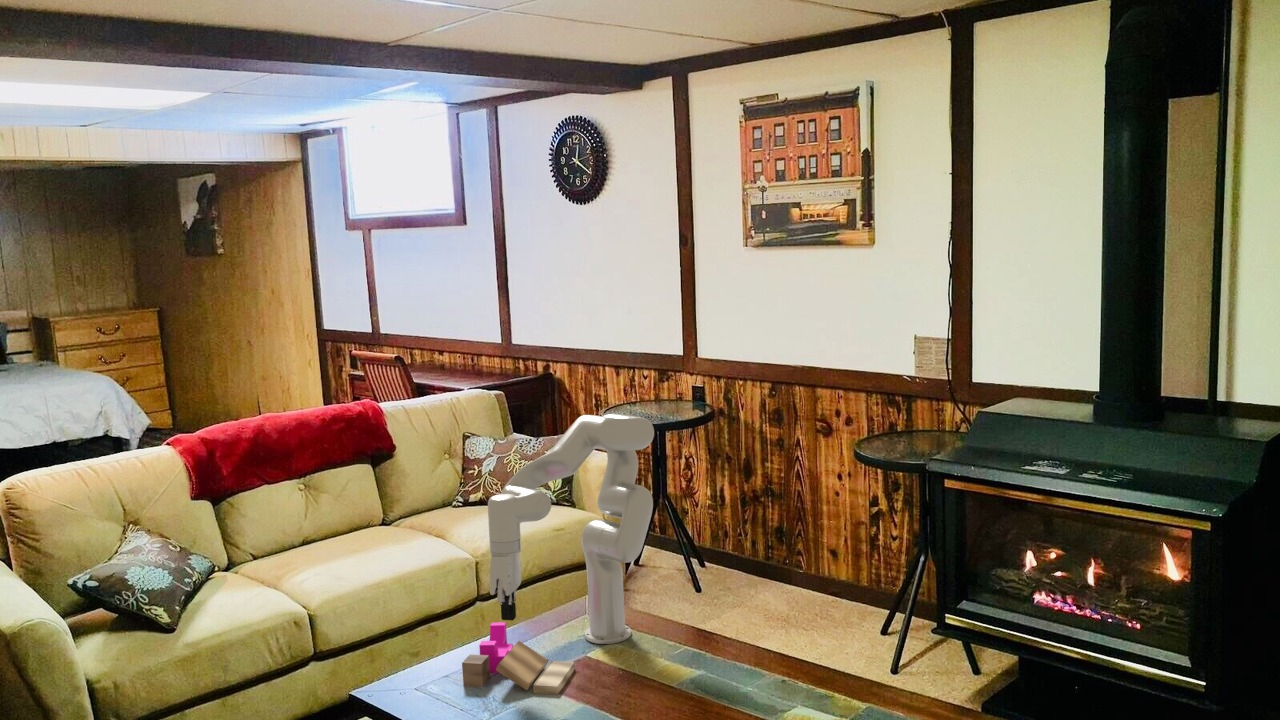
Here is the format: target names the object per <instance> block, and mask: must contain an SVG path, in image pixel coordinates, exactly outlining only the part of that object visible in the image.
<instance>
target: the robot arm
mask: <svg viewBox="0 0 1280 720" xmlns="http://www.w3.org/2000/svg"><path fill="white" fill-rule="evenodd" d="M654 437H655V429H654V426H653V423H652V422H651V421H650V420H649V419H647V418H646V417H644V416H643V417H642V416H633V415H627V414H619V413H609V414H604V415H602V416H601V415H595V414H594V415H593V414H584V415H581V416H579V417H577V419H576V420H575V421H574V422H573V423H572V424H571V425H570V426H569V427H568V428H567V430H566V431H565V432H564V434H563V435H562V436H561V437H560V438H559V439H558V441H557V442H556V443H555V445H553V447H552V448H551V449H550V450H549V451H548V452H547V453H545V454H543V455H541V456H539V457H537V458H536V459H534V460H533V461H531V462H529V463H527V464H526V465H524V466H522V467H521V468H519V470H518V471H517V472H515V473H514V474H513V476H512V477H511V478H510V479H509V480H508V481H507V482H506V484H505V485H504V487H503V488H502V490H501V492H500V494H495V495H492V496H491V497H489V499H488V501H487V514H488V515H487V517H488V519H487V520H488V532H489V533H488V537H489V554H491V556H490V566H489V593H490V595H491V596H495V595H496V594H497V596H496V597H497V600H496V602H497V603H499V605H500V617H501V620H502V621H514V620H515V619H516V618H517V611H516V610H517V607H516V600H517V590H518V588H519V586H521V584H522V565H521V555H520V553H521V552H522V541H521V537H522V536H521V534H522V533H521V524H522V523H529V522H538V521H541V520H543V519H545V518H546V517H547V516H548V515H549V514H550V512H551V509H552V501H551V498H550V497H549V496H548V495H547V493H545V492H543V491H541V490H537V489H538V488H539V487H541V486H542V485H545V484H547V483H550V482H553V481H557V480H562V479H565V478H569V477H571V476H573V475H575V473H576V472H577V471H578V470H579V469H580V467H581V466H582V465H583V464H584V462H585V461H586V460H587V459H588V457H589V456H590V455H591V454H592V452H593V451H594V450H597V449H598V450H604V451H606V456H607V463H606V467H605V472H604V476H603V479H602V482H601V485H600V489H599V493H598V497H597V502H596V503H597V509H598V510H599V511H600V512H601V513H602V514H604V515H606V516H609V517H612V518H616V519H617V518H618V519H620V523H619V522H616V521H615V522H614V521H611V520H610V521H609V520H605V519H593V520H591V521H589V522H588V523H587V524H586V525H584V527H583V529H582V532H581V548H582V552H583V554H584V560H585V566H586V577H587V581H586V582H587V583H586V584H587V598H588V599H587V600H588V601H587V602H588V618H589V620H588V621H589V627H588V628H586V629H585V630H584V631H583V633H584V635H583V636H584V639H585V640H587V642H590V643H593V644H597V645H598V644H599V645H611V644H617V643H621V642H623V641H626V640H628V639H629V638H630V637H631V635H632V629H631V627H630V626H628V625H627V624H626V621H625V620H626V615H625V614H626V613H625V597H624V576H623V575H624V574H623V567H622V564H621V563H625V564H626V563H632V562H634V561H635V560H636V559H637V558H638V557H639V556H640V554H641V552H642V550H643V547H644V543H645V540H646V536H647V533H648V530H649V525H650V522H651V518H652V516H653V515H652V514H653V510H654V509H653V508H654V500H653V495H652V494H651V492H650V490H649V489H647V488H646V487H645V486H643V485H639V484H636V479H637V476H638V471H639V458H638V455H637V451H640V450H643V449H646V448H647V447H648V446H650V445H651V443H652V442H653V440H654Z"/></svg>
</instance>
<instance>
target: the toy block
mask: <svg viewBox="0 0 1280 720" xmlns="http://www.w3.org/2000/svg"><path fill="white" fill-rule="evenodd" d="M489 629H490V631H489V640H482V641H480V643H479V645H478V646H479V655H489V665H490V674H500V673H499V672H498V671H496V668H497V666H498V665H499V663H500V662H501V661H502V660H503V658H504V657H505V656H506V655H507V654H508V653H509V652H510V650H511V649H512V648H513V647H514V644H513V643H508V636H507V634H508V633H507V622H504V621H503V622H501V621H500V622H499V621H498V622H491V624H490V626H489Z"/></svg>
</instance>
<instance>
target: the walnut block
mask: <svg viewBox="0 0 1280 720" xmlns="http://www.w3.org/2000/svg"><path fill="white" fill-rule="evenodd" d="M461 669H462V680H463V687H470V688H471V687H472V688H474V687H475V688H484V686H486V684H487V683H488V682H489V681H490V680H491V673H490V665H489V655H480V654H472V653H471V654H469V655H468V656H467V657H466V658H465V659H464V660H463V661H462V662H461Z"/></svg>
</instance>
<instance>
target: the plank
mask: <svg viewBox="0 0 1280 720" xmlns="http://www.w3.org/2000/svg"><path fill="white" fill-rule="evenodd" d="M549 661H550V659H548V658H546V657H544V656H543V655H542V654H540V653H538V652H537V651H535V650H534V649H532V648H531V647H529V646H528V645H526V644H525V643H523V642H522V641H520V640H518V641H516V643H515V645H513V648H512V649H511V650H510V652H509V653H508V654H507V655H506V656H505V657H504V658H503V660H502V661H501V662H500V663H499V665H498V666H497V668H496V671H498V672H499V673H498V674H501V675H502V676H503V677H505V678H507V679H509V680H510V681H511V682H513V683H514V684H516V685H517V686H520V687H521V688H523V690H525V691H528V690H529V688H530V687H531V686H533V684H534V683H535V682H536V680H537V679H538V678H539V676H540V675H541V674H542V672H543V671H544V670H545V668H546V667H547V665H548V664H549Z"/></svg>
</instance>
